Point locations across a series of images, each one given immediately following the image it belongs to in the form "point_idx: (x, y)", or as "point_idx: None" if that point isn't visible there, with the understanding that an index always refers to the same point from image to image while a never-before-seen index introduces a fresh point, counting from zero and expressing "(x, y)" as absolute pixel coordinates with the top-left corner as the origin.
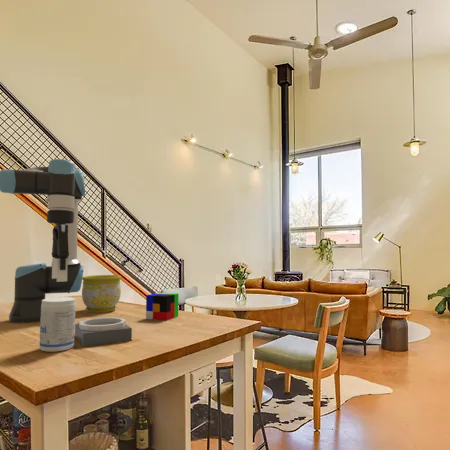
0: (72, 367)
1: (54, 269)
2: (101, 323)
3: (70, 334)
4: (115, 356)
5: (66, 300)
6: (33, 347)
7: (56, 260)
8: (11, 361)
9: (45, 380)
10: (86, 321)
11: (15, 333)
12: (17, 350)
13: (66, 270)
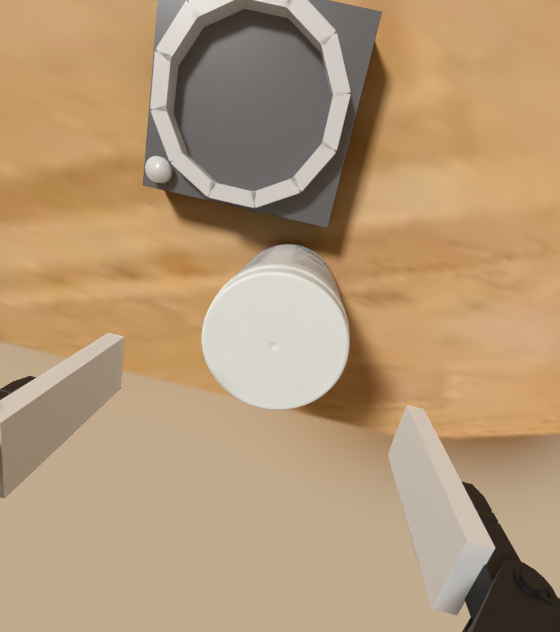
0: (504, 327)
1: (82, 410)
2: (193, 85)
3: (332, 276)
4: (513, 193)
5: (337, 333)
6: None
7: (26, 448)
8: (333, 408)
9: (542, 401)
10: (183, 154)
11: (17, 319)
12: None
13: (446, 463)
